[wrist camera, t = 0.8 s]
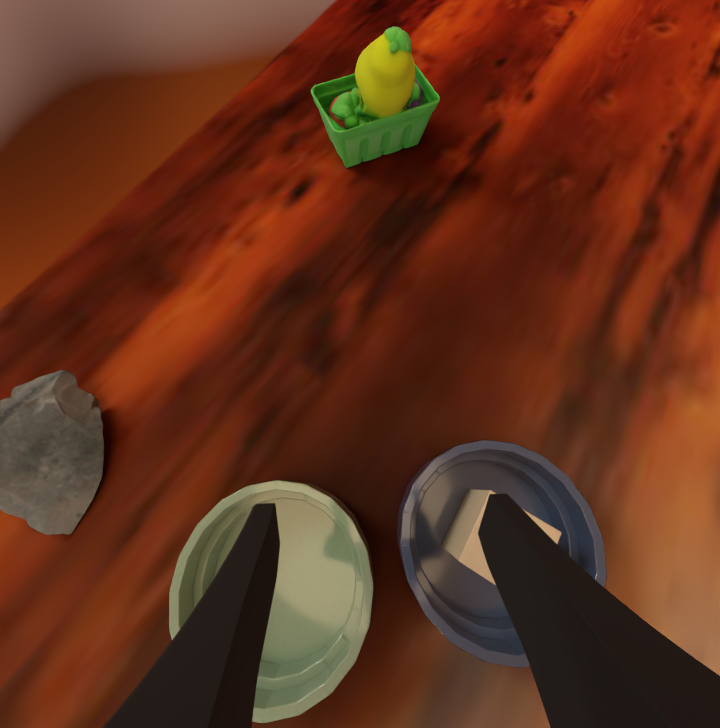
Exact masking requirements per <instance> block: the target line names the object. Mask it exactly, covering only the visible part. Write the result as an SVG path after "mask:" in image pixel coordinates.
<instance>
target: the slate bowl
mask: <svg viewBox="0 0 720 728" xmlns="http://www.w3.org/2000/svg"><path fill="white" fill-rule="evenodd" d="M468 489H474V490H491V491H493V492H495V493H496V494H505V493H507V494H508V495H509V496H510V497H511V498H512V499H513V500H514V501H515V502H516V503H517V504H518V505H519V506H520V507H521V508H522V509H523V510H525V511H527V512H528V513H530V514H532V515H533V516H535V517H537V518H538V519H540V520H542V521H543V522H545V523H547V524H548V525H550V526H552V527H554V528H555V529H557V530H559V531H560V532H561V536H560V538H559V541H558V544H557V545H559V546H560V547H561V548H562V549H563V550H564V551H565V552H566V553H567V554H568V555H569V556H570V557H571V558H572V559H573V560H574V561H575V562H576V563H577V564H578V565H580V566H581V567H582V568H583V569H584V570H585V571H586V572H587V573H588V574H590V575H591V576H592V577H593V578H594V579H595V580H596V581H597V582H598V583H600V584H601V585H602V586H603V587H604V588H605V583H606V577H607V576H606V575H607V571H606V562H605V552H604V543H603V538H602V536H601V533H600V530H599V528H598V525H597V523H596V520H595V518H594V515H593V513H592V510H591V508H590V506H589V504H588V503H587V501H586V500H585V499H584V497H583V496H582V494H581V493H580V492H579V490H578V489H577V488H576V486H575V485H574V484H573V482H572V481H571V479H570V478H569V477H568V476H567V475H566V474H564V473H563V472H562V471H561V470H560V469H558V468H557V467H556V466H555V465H553V464H552V463H551V462H550V461H548V460H547V459H546V458H545V457H543V456H542V455H539V454H537V453H535V452H533V451H530V450H528V449H526V448H524V447H521V446H519V445H517V444H513V443H507V442H498V441H490V440H481V441H476V442H471V443H466V444H461V445H457V446H455V447H453V448H450V449H448V450H446V451H444V452H443V453H441V454H439V455H438V456H436V457H434V458H433V459H431V460H429V461H427V462H426V463H425V464H424V465H423V466H422V467H421V468H420V470H419V471H418V472H417V473H416V474H415V476H414V477H413V478H412V479H411V480H410V481H409V483H408V486H407V488H406V491H405V493H404V496H403V498H402V501H401V503H400V506H399V509H398V522H397V534H396V536H397V543H398V548H399V553H400V558H401V563H402V567H403V570H404V573H405V575H406V578H407V581H408V583H409V585H410V587H411V589H412V591H413V593H414V595H415V597H416V599H417V601H418V603H419V605H420V606H421V608H422V610H423V612H424V614H425V615H426V617H427V618H428V619H429V620H430V621H431V622H432V623H433V624H434V625H435V626H436V627H437V628H438V630H439V631H440V632H441V633H442V634H443V635H444V636H445V637H446V638H447V639H448V640H449V641H450V642H451V643H452V644H454V645H455V646H457V647H459V648H461V649H462V650H464V651H466V652H468V653H469V654H471V655H473V656H475V657H477V658H478V659H480V660H482V661H484V662H487V663H493V664H499V665H505V666H511V667H517V668H520V667H521V668H524V667H528V666H530V664H529V662H528V659H527V656H526V654H525V651H524V649H523V646H522V644H521V641H520V639H519V637H518V635H517V632H516V630H515V628H514V625H513V623H512V621H511V618H510V616H509V614H508V612H507V609H506V607H505V605H504V602H503V600H502V598H501V596H500V593H499V591H498V589H497V586H496V585H494V584H493V583H491V582H490V581H488V580H487V579H485V578H484V577H482V576H481V575H479V574H477V573H476V572H474V571H473V570H471V569H470V568H468V567H467V566H465V565H464V564H462V563H461V562H459V561H458V560H457V559H456V558H455V557H453V556H452V555H451V554H450V553H449V552H448V551H447V550H446V549H444V548H443V547H442V544H443V541H444V539H445V537H446V535H447V533H448V531H449V529H450V527H451V524H452V522H453V520H454V518H455V516H456V514H457V512H458V509H459V507H460V505H461V503H462V501H463V499H464V497H465V495H466V492H467V490H468Z"/></svg>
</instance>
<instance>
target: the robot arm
mask: <svg viewBox="0 0 720 728" xmlns="http://www.w3.org/2000/svg"><path fill="white" fill-rule="evenodd" d="M478 536H479V539H480V543H481V546H482V549H483V553H484V556H485V559H486V562H487V565H488V567H489V570H490V572H491V575H492V577H493V579H494V582H495V584H496V586H497V589H498V591H499V593H500V596H501V598H502V600H503V602H504V605H505V607H506V609H507V612H508V614H509V616H510V618H511V621H512V623H513V625H514V628H515V630H516V632H517V635H518V637H519V639H520V641H521V644H522V646H523V649H524V651H525V654H526V656H527V659H528V662H529V664H530V667H531V670H532V673H533V676H534V679H535V682H536V685H537V688H538V691H539V693H540V696H541V699H542V702H543V705H544V708H545V711H546V715H547V718H548V721H549V724H550V727H551V728H720V676H719V675H717V674H716V673H715V672H713V671H712V670H710V669H709V668H708V667H706V666H705V665H703V664H702V663H700V662H699V661H698V660H696V659H695V658H693V657H692V656H691V655H689V654H688V653H687V652H685V651H684V650H682V649H681V648H680V647H678V646H677V645H676V644H674V643H673V642H672V641H670V640H669V639H668V638H666V637H665V636H664V635H662V634H661V633H660V632H658V631H657V630H656V629H654V628H653V627H652V626H650V625H649V624H648V623H647V622H645V621H644V620H643V619H642V618H640V617H639V616H638V615H637V614H635V613H634V612H633V611H632V610H630V609H629V608H628V607H627V606H626V605H624V604H623V603H622V602H621V601H619V600H618V599H617V598H616V597H615V596H613V595H612V594H611V593H610V592H609V591H608V590H606V589H605V588H604V587H603V586H602V585H601V584H600V583H598V582H597V581H596V580H595V579H594V578H593V577H592V576H591V575H590V574H588V573H587V572H586V571H585V570H584V569H583V568H582V567H581V566H580V565H578V564H577V563H576V562H575V561H574V560H573V559H572V558H571V557H570V556H569V555H568V554H567V553H566V552H565V551H564V550H563V549H562V548H561V547H560V546H559V545H557V544H556V543H555V542H554V541H553V540H552V539H551V538H550V537H549V536H548V535H547V534H546V533H545V532H544V531H543V530H542V529H541V528H540V527H539V526H538V525H537V524H536V523H535V522H534V521H533V520H532V519H531V518H530V517H529V516H528V514H527V513H526V512H525V511H524V510H523V509H522V508H521V507H520V506H519V505H518V504H517V503H516V502H515V501H514V500H513V499H512V498H511V497H510V496H509V495H508V494H507V493H505V494H489V498H488V501H487V504H486V508H485V511H484V514H483V517H482V521H481V524H480V527H479V531H478ZM279 551H280V537H279V529H278V521H277V513H276V505H275V503H262V504H255V505H254V506H253V507H252V510H251V512H250V514H249V516H248V518H247V520H246V522H245V524H244V526H243V528H242V530H241V532H240V534H239V536H238V538H237V540H236V541H235V543H234V545H233V547H232V549H231V550H230V552H229V554H228V555H227V557H226V559H225V561H224V562H223V564H222V566H221V567H220V569H219V571H218V573H217V574H216V576H215V577H214V579H213V581H212V582H211V584H210V585H209V587H208V588H207V590H206V591H205V593H204V595H203V596H202V598H201V599H200V601H199V602H198V604H197V605H196V607H195V608H194V610H193V611H192V613H191V614H190V616H189V617H188V619H187V620H186V622H185V623H184V624H183V626H182V627H181V629H180V630H179V631H178V633H177V634H176V636H175V637H174V638H173V640H172V641H171V642H170V644H169V645H168V647H167V648H166V649H165V651H164V652H163V653H162V655H161V656H160V657H159V659H158V660H157V661H156V662H155V664H154V665H153V666H152V668H151V669H150V670H149V671H148V673H147V674H146V675H145V677H144V678H143V679H142V680H141V682H140V683H139V684H138V686H137V687H136V688H135V689H134V691H133V692H132V693H131V694H130V696H129V697H128V698H127V699H126V700H125V702H124V703H123V704H122V705H121V706H120V708H119V709H118V710H117V711H116V712H115V714H114V715H113V716H112V717H111V718H110V719H109V721H108V722H107V723H106V724H105V725H104V726H103V728H251V726H252V718H253V710H254V702H255V694H256V685H257V679H258V673H259V667H260V661H261V656H262V651H263V646H264V641H265V636H266V631H267V626H268V620H269V615H270V610H271V605H272V600H273V595H274V590H275V585H276V579H277V571H278V561H279Z"/></svg>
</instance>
